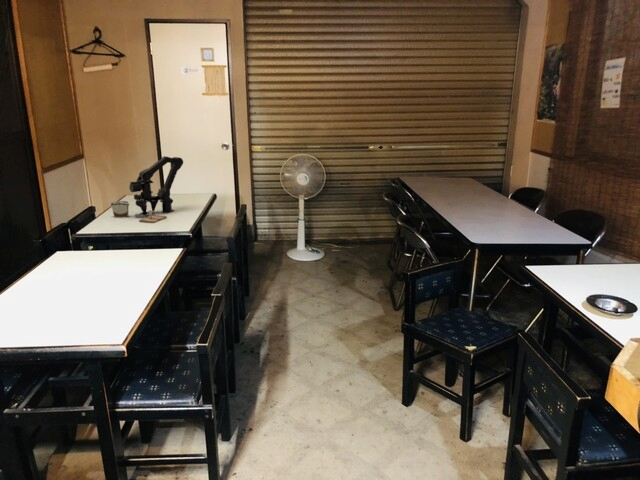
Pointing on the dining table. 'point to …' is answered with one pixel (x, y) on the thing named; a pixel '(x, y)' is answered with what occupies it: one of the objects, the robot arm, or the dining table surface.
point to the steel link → (141, 215)
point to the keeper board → (152, 218)
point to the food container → (120, 209)
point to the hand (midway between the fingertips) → (149, 212)
